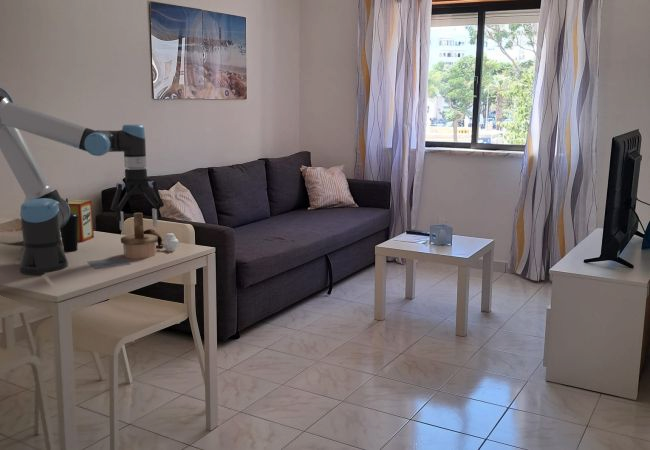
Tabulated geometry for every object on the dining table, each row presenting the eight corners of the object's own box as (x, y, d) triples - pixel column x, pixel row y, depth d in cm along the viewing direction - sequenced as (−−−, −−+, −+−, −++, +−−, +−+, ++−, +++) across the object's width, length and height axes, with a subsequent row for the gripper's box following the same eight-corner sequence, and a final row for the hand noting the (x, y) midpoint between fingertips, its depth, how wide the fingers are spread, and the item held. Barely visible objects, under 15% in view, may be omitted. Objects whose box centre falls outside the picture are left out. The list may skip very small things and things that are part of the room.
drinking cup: (56, 250, 254) (52, 198, 250) (76, 247, 259) (72, 196, 255) (64, 253, 248) (60, 200, 244) (84, 250, 253) (80, 198, 249)
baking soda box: (82, 242, 267) (79, 203, 264) (67, 241, 268) (64, 202, 265) (93, 237, 276) (91, 199, 273) (79, 236, 277) (76, 199, 274)
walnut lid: (127, 246, 233) (125, 217, 231) (116, 239, 244) (114, 212, 242) (162, 242, 240) (161, 214, 238) (151, 235, 250) (149, 209, 249)
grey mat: (95, 271, 223) (95, 268, 223) (86, 263, 233) (86, 261, 233) (131, 266, 229) (131, 264, 229) (121, 259, 239) (121, 257, 239)
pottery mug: (165, 250, 255) (153, 234, 251) (143, 261, 256) (131, 244, 252) (167, 236, 266) (156, 220, 262) (146, 247, 266) (135, 231, 263)
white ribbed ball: (162, 249, 255) (161, 231, 254) (178, 248, 257) (177, 230, 256) (162, 252, 249) (161, 234, 248) (179, 251, 251) (178, 233, 250)
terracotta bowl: (129, 262, 235) (129, 245, 234) (120, 255, 244) (119, 239, 243) (160, 258, 241) (159, 241, 240) (150, 252, 250) (149, 236, 249)
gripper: (104, 171, 227) (108, 233, 231) (171, 167, 240) (174, 226, 244) (98, 169, 233) (102, 229, 238) (164, 165, 246) (166, 223, 250)
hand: (138, 228), depth 241 cm, fingers open, 11 cm apart
